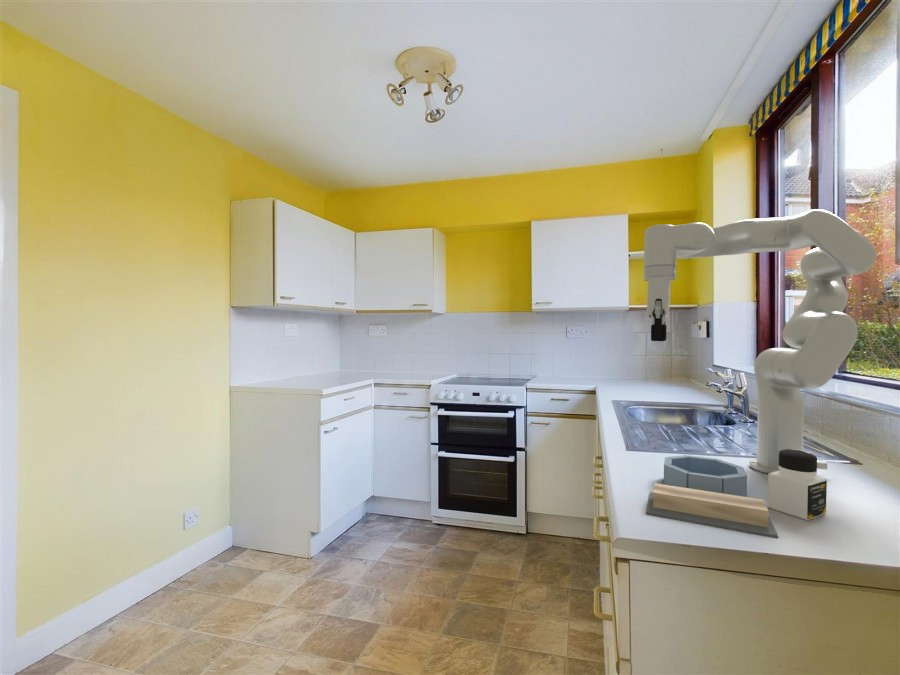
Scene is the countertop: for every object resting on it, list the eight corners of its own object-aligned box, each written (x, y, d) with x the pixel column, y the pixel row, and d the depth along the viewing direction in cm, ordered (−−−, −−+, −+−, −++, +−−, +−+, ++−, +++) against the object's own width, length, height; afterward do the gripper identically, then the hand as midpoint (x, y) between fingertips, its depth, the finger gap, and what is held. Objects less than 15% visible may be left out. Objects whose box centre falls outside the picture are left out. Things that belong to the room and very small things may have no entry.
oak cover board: (654, 497, 94) (654, 483, 94) (762, 515, 85) (763, 499, 85) (653, 507, 89) (653, 492, 89) (768, 527, 80) (768, 510, 80)
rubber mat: (766, 512, 87) (766, 510, 87) (778, 537, 77) (778, 535, 77) (650, 493, 97) (650, 491, 97) (646, 513, 86) (646, 511, 86)
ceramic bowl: (740, 482, 105) (740, 461, 104) (749, 506, 90) (750, 482, 90) (665, 472, 112) (665, 452, 112) (662, 492, 98) (663, 470, 98)
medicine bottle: (808, 521, 84) (809, 458, 83) (766, 507, 90) (768, 449, 90) (826, 514, 87) (828, 453, 87) (785, 501, 93) (786, 445, 93)
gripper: (646, 278, 123) (645, 339, 123) (641, 271, 108) (640, 341, 108) (676, 277, 120) (675, 340, 120) (675, 269, 104) (674, 341, 105)
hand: (658, 340), depth 114 cm, fingers open, 9 cm apart
